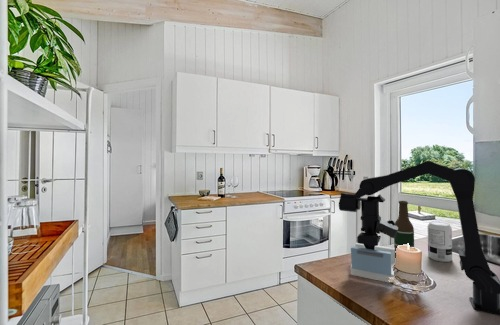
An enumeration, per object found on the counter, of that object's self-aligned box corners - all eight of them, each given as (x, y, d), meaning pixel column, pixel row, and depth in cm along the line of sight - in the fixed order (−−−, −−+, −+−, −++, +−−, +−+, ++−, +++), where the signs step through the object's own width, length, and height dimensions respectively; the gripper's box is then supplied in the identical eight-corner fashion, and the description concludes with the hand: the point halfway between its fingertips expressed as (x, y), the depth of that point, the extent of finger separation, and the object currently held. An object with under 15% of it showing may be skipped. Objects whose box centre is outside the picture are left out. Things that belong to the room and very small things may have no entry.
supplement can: (424, 254, 111) (423, 221, 111) (444, 255, 110) (443, 221, 110) (435, 262, 103) (434, 225, 103) (457, 263, 102) (456, 226, 102)
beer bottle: (416, 254, 112) (415, 200, 112) (412, 259, 106) (411, 203, 106) (396, 250, 117) (395, 199, 117) (392, 255, 111) (391, 201, 111)
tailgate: (391, 277, 84) (390, 255, 83) (351, 269, 91) (350, 249, 90) (391, 274, 86) (390, 252, 85) (352, 266, 93) (351, 246, 91)
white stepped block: (393, 283, 86) (393, 260, 86) (350, 274, 93) (350, 253, 93) (395, 268, 98) (394, 248, 98) (356, 261, 105) (356, 242, 105)
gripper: (394, 222, 77) (396, 272, 77) (397, 210, 93) (398, 251, 93) (356, 218, 83) (357, 264, 83) (364, 207, 99) (365, 246, 99)
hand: (371, 256), depth 90 cm, fingers closed
